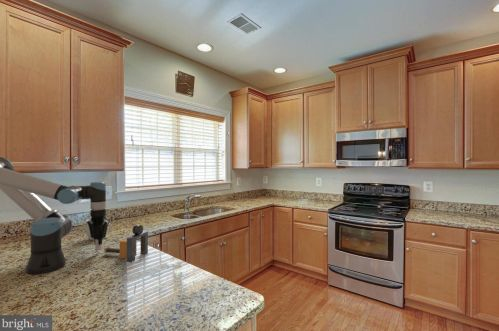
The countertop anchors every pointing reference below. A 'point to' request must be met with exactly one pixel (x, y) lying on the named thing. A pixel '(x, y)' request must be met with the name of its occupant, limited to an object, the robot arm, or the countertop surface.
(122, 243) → the plug
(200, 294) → the countertop surface
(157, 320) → the countertop surface
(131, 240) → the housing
